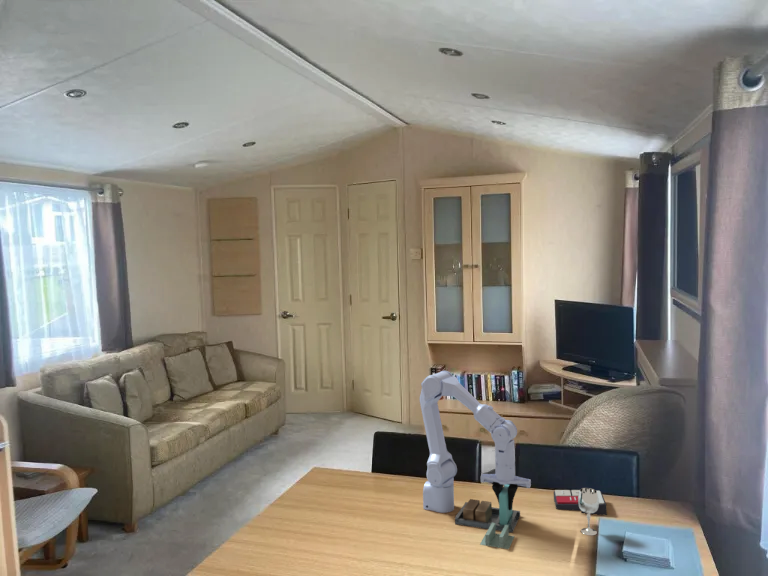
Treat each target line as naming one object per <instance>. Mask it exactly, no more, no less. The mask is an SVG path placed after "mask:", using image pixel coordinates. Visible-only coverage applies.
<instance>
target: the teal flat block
mask: <svg viewBox="0 0 768 576" xmlns="http://www.w3.org/2000/svg"><path fill="white" fill-rule="evenodd" d="M508 487H509V485H508V484H506V485H503V489H502V490H501V492H500V494H499V502H498V508H499V520H500V524H502V525H507V524H508V522H509V520H510V518H511V516H512V514H513V510H514V509H513V508H512V509H511V510H509V508H508V503H509V498H508Z"/></svg>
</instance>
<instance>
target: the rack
mask: <svg viewBox="0 0 768 576" xmlns="http://www.w3.org/2000/svg"><path fill="white" fill-rule="evenodd" d="M467 503H468V501H465V503H464V504H463V505H462V507H461V508H460V510H459V511H458V512H457V514H456V515H455V517H454V524H455V525H458V526H464V527H465V526H466V527H472V528H476V529H477V528H478V529H485V530H488V529H489V527H490V525H491V523H495V527H496V531H497V532H502V530H503V528H504V526H505V525H502V524H500V520H499V507H494V506H492V515H491V517H490V519H489V520H488V522H481V521H476V520H468V519H463V509H464V507H465V506H466V504H467ZM512 510H513V514H512V516H511V518H510V520H509V522H508V524H507V525H509V534H511V533H514V530H515V528H516V526H517V523H518V522H519V520H520V518H521V510H514V509H512Z"/></svg>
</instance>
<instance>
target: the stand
mask: <svg viewBox="0 0 768 576" xmlns="http://www.w3.org/2000/svg"><path fill="white" fill-rule="evenodd" d="M496 531H497V530H496V527H495V523H491V525H490V527H489V529H487V530H486V533H485V534H484V536H483V538H482V539H481V541H480V544H479V545H480V546H487V547H493V548H500V549H505V550H510V548H511V545H512V544H513V540H514V539H515V536H514V535H510V532H509V525H505V526H504V528H503V530H502V531H500V533H496Z"/></svg>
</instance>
